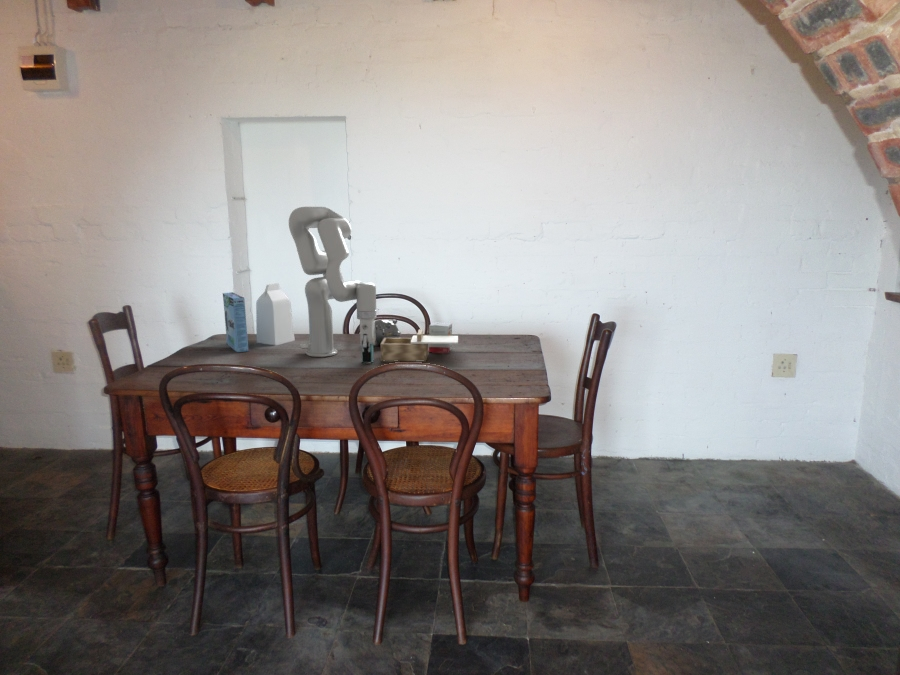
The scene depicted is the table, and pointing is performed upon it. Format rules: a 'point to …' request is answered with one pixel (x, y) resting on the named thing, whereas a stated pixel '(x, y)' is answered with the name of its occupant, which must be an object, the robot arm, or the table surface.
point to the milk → (274, 317)
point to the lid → (433, 339)
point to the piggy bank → (385, 330)
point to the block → (370, 351)
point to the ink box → (440, 330)
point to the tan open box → (403, 350)
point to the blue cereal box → (235, 321)
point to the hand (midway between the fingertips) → (367, 359)
